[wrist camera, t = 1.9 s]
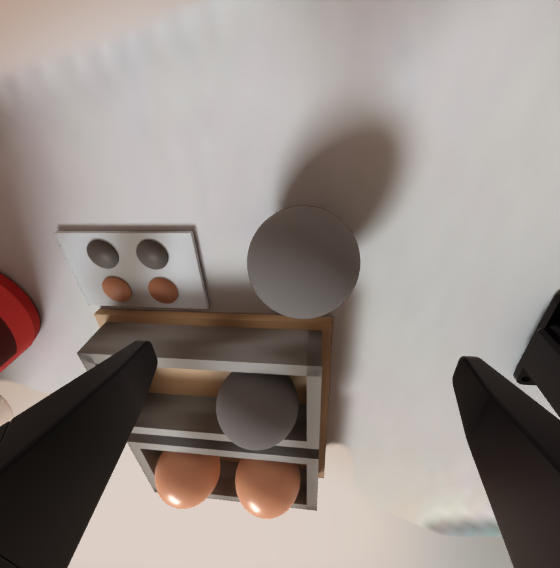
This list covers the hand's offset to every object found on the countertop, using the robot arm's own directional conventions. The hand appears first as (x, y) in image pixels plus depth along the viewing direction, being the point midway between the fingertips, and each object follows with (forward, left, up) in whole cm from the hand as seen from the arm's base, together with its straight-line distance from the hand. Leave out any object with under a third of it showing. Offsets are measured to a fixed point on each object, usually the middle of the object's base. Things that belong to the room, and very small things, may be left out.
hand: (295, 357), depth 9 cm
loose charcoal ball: (0, 0, -6) cm, 6 cm away
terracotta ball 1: (+9, +18, -5) cm, 21 cm away
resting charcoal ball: (+3, +9, -5) cm, 11 cm away
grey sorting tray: (+6, +11, -8) cm, 15 cm away
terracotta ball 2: (+3, +18, -5) cm, 19 cm away
